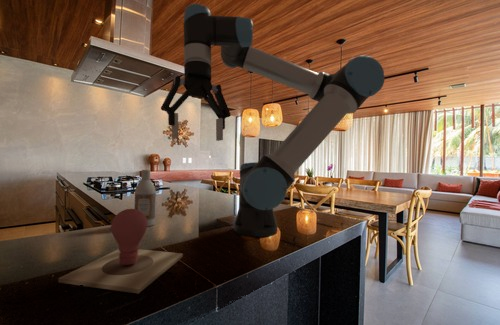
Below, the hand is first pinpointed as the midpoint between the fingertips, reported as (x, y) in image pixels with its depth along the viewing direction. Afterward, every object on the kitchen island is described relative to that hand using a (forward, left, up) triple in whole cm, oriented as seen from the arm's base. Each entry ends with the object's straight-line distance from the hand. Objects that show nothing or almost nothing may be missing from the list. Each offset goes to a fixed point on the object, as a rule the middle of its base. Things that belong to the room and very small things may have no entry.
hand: (198, 139), depth 69 cm
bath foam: (+26, -14, -30) cm, 42 cm away
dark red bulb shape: (+8, +18, -29) cm, 35 cm away
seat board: (+8, +18, -30) cm, 36 cm away
